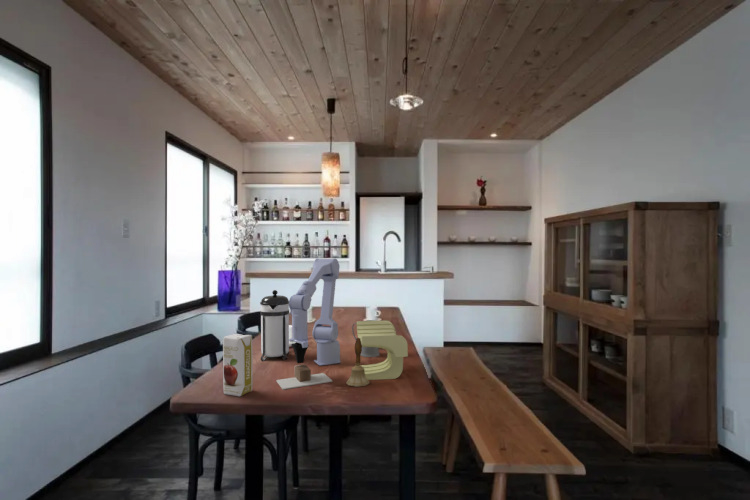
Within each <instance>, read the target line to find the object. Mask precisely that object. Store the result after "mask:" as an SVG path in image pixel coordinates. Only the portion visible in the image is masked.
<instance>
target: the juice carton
mask: <svg viewBox="0 0 750 500" xmlns="http://www.w3.org/2000/svg"><path fill="white" fill-rule="evenodd" d="M222 340H223V341H222V358H223V360H222V361H223V362H222V363H223V364H222V366H223V367H222V371H223V373H222V375H223V378H222V379H223V382H222V383H223V385H222V386H223V388H222V390H223V394H224V395H228V396H235V397H242V396H245V394H248V393H250V392H252V391H253V384H254V383H253V335H252V334H245V335H243V334H241V333H240V334H239V333H233V334H229V335H226V336H224V337H223V339H222Z"/></svg>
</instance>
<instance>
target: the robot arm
mask: <svg viewBox="0 0 750 500" xmlns="http://www.w3.org/2000/svg"><path fill="white" fill-rule="evenodd" d="M339 263H340V262H339V261H338V259H337V258H315V259H314V261H313V263H312V269H313V270H312V272H311V273H310V275H309V278H308V279H307V280H305V281H303V282H302V284H301V285H300V287H299V289H298V290H297V292H296V294H293V295H292V296H290V298H289V299H288V300H289V312H290V314H291V334H292V335H291V338H289V343H290V342H294V343H291V344H290V345H291V347H292V349H293V351H294V357H295V360H296V363H297V364H304V361H305V357H306V353H307V351H308V348H309V337H308V336H309V335H308V333H309V332H308V331H309V330H308V310H309V309H310V307H311V302H312V297H313V295H314V294H315V292H316V291H317V284H318V282H319V281H320V280H322V281H323V287H322V288H323V289H322V296H321V298H322V299H321V305H320V306H321V307H320V316H319V318H318V319H316V321H315V322H314V323H313V324H314V325H313V328H312V333H311V335H312V337H313V339H314V340H315V341H314V342H315V343H316V359H314V360H313V362H314V363H315V364H317V365H318V366H327V365H335V364H341V362H342V361H341V346H340V342H339V340H337V339H338V337H339V330H338V329H339V328H338V327H339V325H338V324H339V323H337V321H335V320H334V319H333V314H334V304H335V303H334V302H335V294H336V293H335V291H336V283H337V279H339V276H340V264H339Z"/></svg>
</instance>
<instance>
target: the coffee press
mask: <svg viewBox="0 0 750 500" xmlns="http://www.w3.org/2000/svg"><path fill="white" fill-rule="evenodd" d="M271 293H272V295H268V296H267V295H266V296H264V297H262V299H261V301H260V302H259V305H260V334H261V335H260V337H261V338H260V339H261V340H260V341H261V342H260V343H261V344H260V347H261V349H260V352H261V357H260V360H261V361H266V359H267V358H278V357H281V358H282V360H283V361H285V360H287V359H288V356H287V355H289V354H290V341H289V339H290V325H289V324H290V317H289V316H290V308H289V300H290V299H289V298H288V297H286V296H284V295H278V291H277V289H274V290H272V292H271Z"/></svg>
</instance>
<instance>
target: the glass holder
mask: <svg viewBox="0 0 750 500" xmlns="http://www.w3.org/2000/svg"><path fill="white" fill-rule="evenodd" d="M366 321H375V319H374V320H373V319H372V320H366ZM355 325H357V322H353V324H352V326H351V329H352V330H351V332H352V335H353V338H354V340H355V341H356V339H357V337H356V335H355V330H354V326H355ZM379 349H380V348H378V347H362V351H361V355H360V357H364V358H376V357H379V356H380V355H381V354H380V352H379V351H380V350H379Z"/></svg>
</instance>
